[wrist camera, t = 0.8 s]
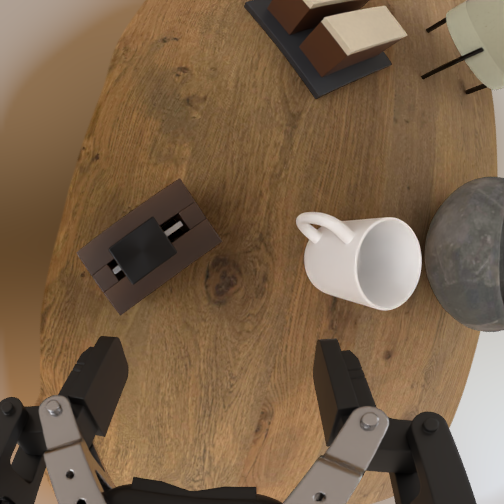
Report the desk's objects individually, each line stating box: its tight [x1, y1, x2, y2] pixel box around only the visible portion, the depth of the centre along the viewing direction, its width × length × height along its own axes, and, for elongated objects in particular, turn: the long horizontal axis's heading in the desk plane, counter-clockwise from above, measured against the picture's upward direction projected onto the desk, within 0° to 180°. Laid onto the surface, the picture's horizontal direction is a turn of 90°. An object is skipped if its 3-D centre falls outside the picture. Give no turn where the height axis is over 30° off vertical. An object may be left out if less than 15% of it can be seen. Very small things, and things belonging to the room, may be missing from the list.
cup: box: [296, 212, 422, 310], centre depth 31 cm, size 8×12×10 cm
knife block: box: [77, 179, 222, 315], centre depth 27 cm, size 6×10×7 cm, turn 125°
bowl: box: [425, 177, 504, 332], centre depth 35 cm, size 20×20×15 cm
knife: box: [108, 217, 183, 285], centre depth 23 cm, size 2×6×16 cm, turn 124°
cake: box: [244, 0, 407, 99], centre depth 31 cm, size 16×16×8 cm
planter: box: [421, 0, 504, 94], centre depth 31 cm, size 15×16×23 cm
